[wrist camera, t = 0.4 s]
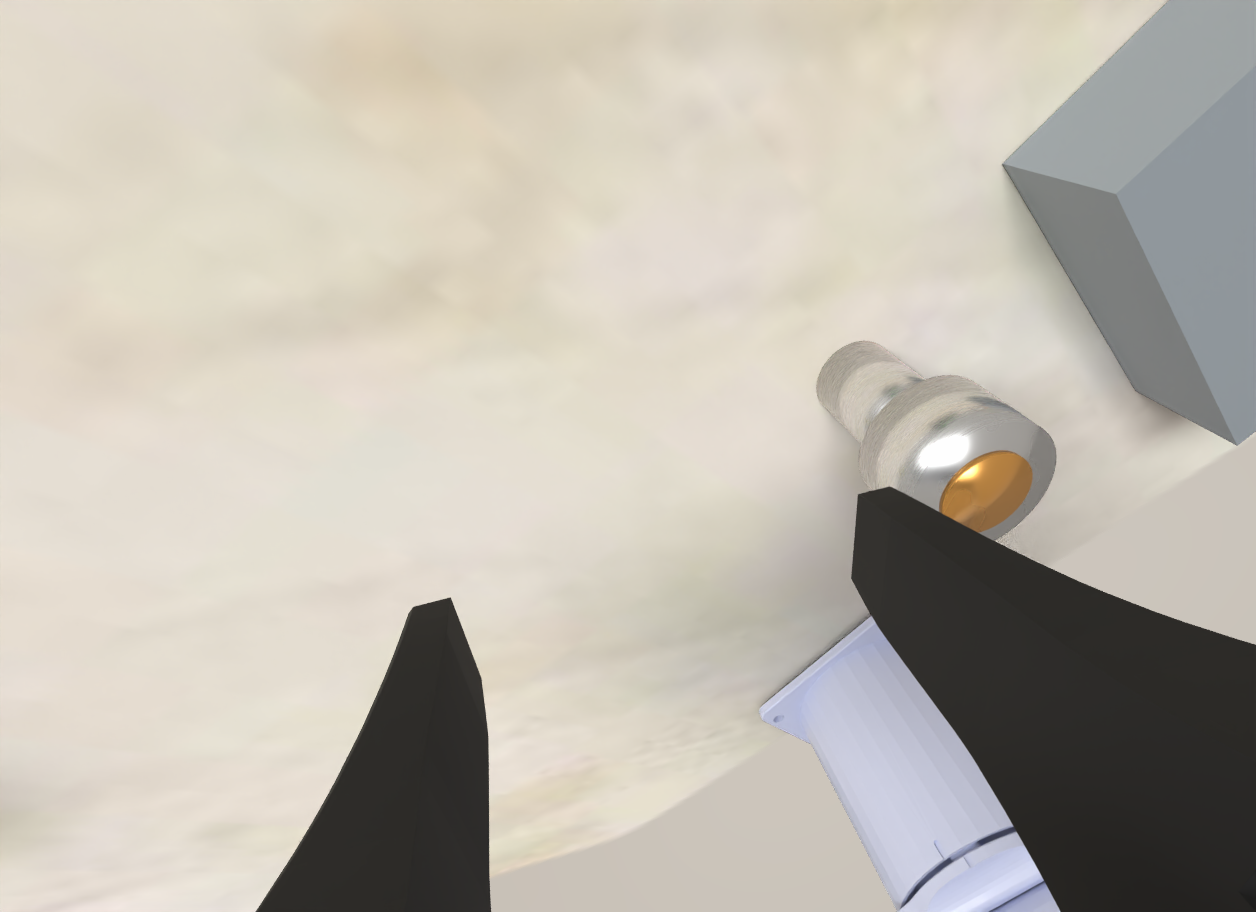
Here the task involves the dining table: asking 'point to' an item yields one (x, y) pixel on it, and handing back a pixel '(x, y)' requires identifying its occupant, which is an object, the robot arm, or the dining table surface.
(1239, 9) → the block
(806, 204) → the dining table surface
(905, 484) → the pin
